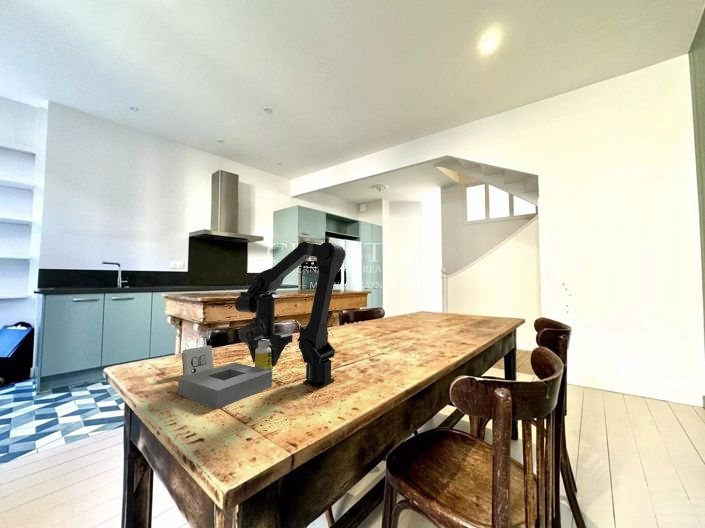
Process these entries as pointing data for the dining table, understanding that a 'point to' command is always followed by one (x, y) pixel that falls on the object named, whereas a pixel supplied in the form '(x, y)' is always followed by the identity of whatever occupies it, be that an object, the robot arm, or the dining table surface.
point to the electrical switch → (197, 360)
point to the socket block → (224, 384)
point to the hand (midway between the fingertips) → (264, 364)
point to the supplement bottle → (263, 355)
